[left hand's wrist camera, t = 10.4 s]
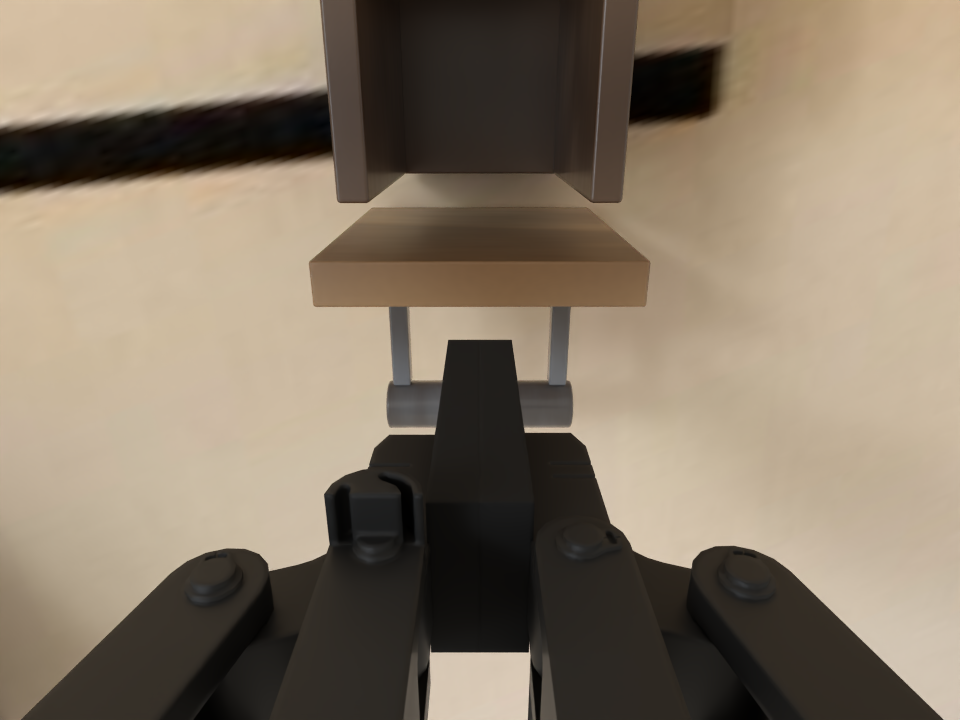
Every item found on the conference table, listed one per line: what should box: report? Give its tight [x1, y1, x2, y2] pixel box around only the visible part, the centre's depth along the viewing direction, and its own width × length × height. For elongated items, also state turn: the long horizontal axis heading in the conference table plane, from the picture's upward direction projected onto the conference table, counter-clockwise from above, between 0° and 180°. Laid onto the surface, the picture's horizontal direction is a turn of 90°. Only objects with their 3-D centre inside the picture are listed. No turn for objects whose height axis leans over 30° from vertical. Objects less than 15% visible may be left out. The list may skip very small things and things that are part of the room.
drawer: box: [309, 0, 650, 428], centre depth 17 cm, size 26×9×10 cm, turn 0°
